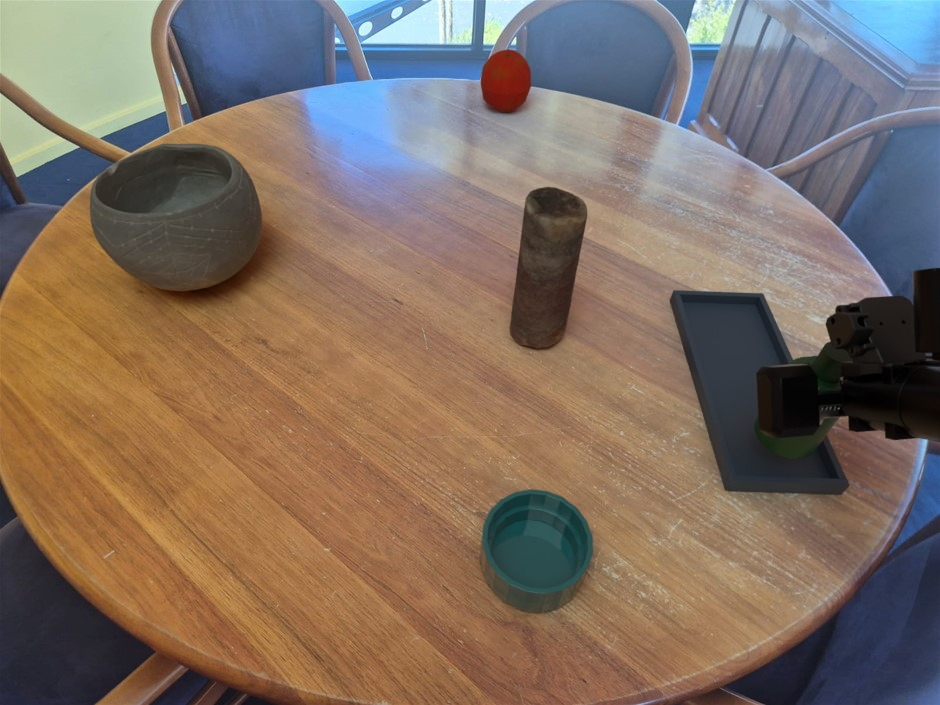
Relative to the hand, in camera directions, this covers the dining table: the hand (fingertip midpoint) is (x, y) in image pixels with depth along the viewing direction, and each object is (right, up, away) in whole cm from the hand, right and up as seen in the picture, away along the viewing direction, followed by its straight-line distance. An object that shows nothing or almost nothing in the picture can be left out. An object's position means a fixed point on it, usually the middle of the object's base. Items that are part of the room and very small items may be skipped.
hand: (803, 386), depth 63 cm
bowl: (-73, +16, +27) cm, 80 cm away
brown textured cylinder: (-25, +6, +20) cm, 32 cm away
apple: (-27, +54, +64) cm, 88 cm away
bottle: (0, -5, +4) cm, 7 cm away
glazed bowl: (-28, -17, -2) cm, 33 cm away
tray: (0, -1, +14) cm, 14 cm away
